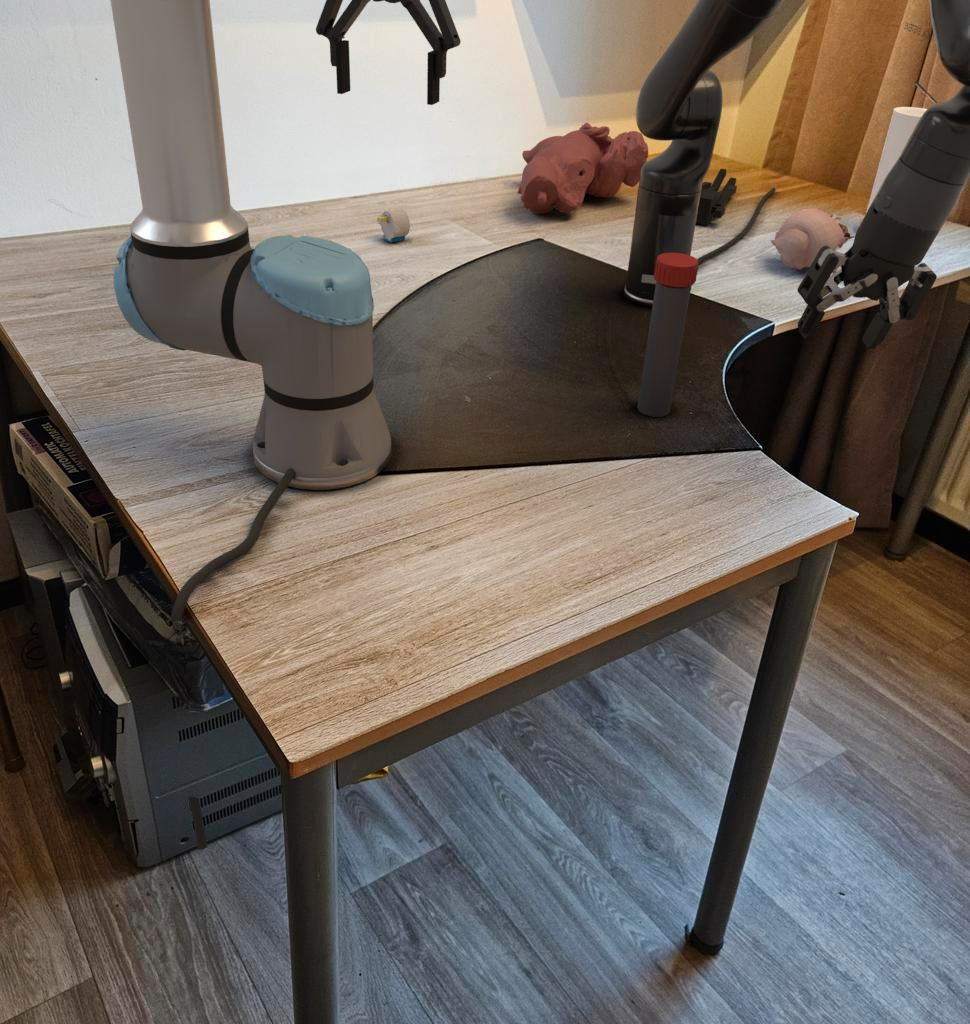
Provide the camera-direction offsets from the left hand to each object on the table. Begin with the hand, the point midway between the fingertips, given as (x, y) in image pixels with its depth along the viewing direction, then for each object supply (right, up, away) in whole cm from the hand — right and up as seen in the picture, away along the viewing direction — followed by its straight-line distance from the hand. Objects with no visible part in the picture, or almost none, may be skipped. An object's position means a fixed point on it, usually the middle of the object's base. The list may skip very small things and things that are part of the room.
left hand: (388, 97), depth 135 cm
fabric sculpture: (+31, +3, +57) cm, 65 cm away
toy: (+69, -15, +33) cm, 78 cm away
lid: (+36, -29, -24) cm, 52 cm away
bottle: (+35, -45, -14) cm, 59 cm away
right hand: (+54, -38, -23) cm, 70 cm away
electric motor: (-3, -10, +34) cm, 36 cm away
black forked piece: (+60, +4, +61) cm, 85 cm away
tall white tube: (+90, -4, +50) cm, 103 cm away
